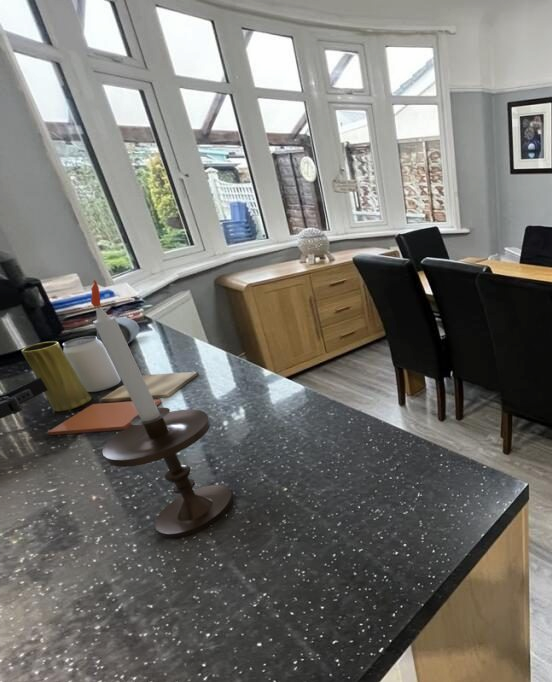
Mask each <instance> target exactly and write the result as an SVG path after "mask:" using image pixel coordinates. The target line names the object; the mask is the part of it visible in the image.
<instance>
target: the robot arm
mask: <svg viewBox="0 0 552 682" xmlns="http://www.w3.org/2000/svg"><path fill="white" fill-rule="evenodd" d="M47 390H48V389H47V388H46V386H45V384H44V383H43V381H42V379H41V378H37V377H36V378H34V379H31V380H29V381H27V382H25V383H23V384H21V385H19V386H16V387H14V388H13V389H10V390H8V391H6V392H4V393H2V394H0V420H1V419H3V418H6V417H9V416H11V415H15V414H18V413H20V412H21V411H23V410H24V408H23V407H22V404H24V403H25V402H28V401H29V400H31V399H34V398H35V397H37V396H39V395H41V394H43V393H44V392H45V391H47Z"/></svg>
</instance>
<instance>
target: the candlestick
mask: <svg viewBox="0 0 552 682" xmlns="http://www.w3.org/2000/svg"><path fill="white" fill-rule="evenodd" d="M90 290H91V296H90V302H91V303H90V304H91V305H92V306H93V307H95V313H96V319H95V320H93V321H92V323H93V325H94V327H95V330H96V332H97V331H98V333H99V335H100V337H101V339H102V341H103V343H104V344H103V345H104V347H105V349H106V351H107V353H108V355H109V357H110V359H111V361H112V363H113V365H114V367H115V369H116V371H117V373H118V375H119V377H120V379H121V382H122V383H123V385H124V386H125V388H126V390H127V392H128V394H129V396H130V398H131V400H130V401H132V402H133V404H134V406H135V408H136V410H137V412H138V414H139V415H137V416H135V417H134V418H133V419H132V420H131V421H130V423H131V424H132V425H131V426H129V427H128V428H126V429H124V430H120V431H119V432H118V433H117V434H115V435H114V436H112V437H111V438H110V439H109V440H108V441H107V442H106V443H105V444H104V446H103V447H102V451H101V452H102V454H103V457H104V459H105V460H106V462H107V464H109V465H111V466H114V467H119V468H128V467H136V466H141V465H146V464H151V463H154V462H157V461H160V460H163V461H164V462H165V464H166V467H167V468H168V470H167V472H165V474H164V479H165V480H166V481H167V482H170V483H172V484H174V486H173V488H172V490H173V492H174V494H180V496H178V497H177V498H175V499H174V500H172V501H171V502H170V503H169V504H167V505H166V506H165V507H164V508H163V509H162V510H161V511H160V512H159V514H158V515H157V517H156V519H155V521H154V527H155V529H156V531H157V533H158V535H159V536H161V537H162V538H164V539H171V540H172V539H181V538H185V537H188V536H192V535H195V534H197V533H199V532H202V531H203V530H206V529H207V528H209V527H210V526H213V524H215V523H216V522H217V521H219V520H220V519H222V517H223V516H224V515H226V513H227V512H228V511H229V509H230V508H231V507H232V504H233V502H234V497H233V494H232V490H231V489H230V488H229V487H227V486H225V485H221V484H212V485H211V484H210V485H206V486H202V487H198V488H195V489H193V488H194V486H195V485H196V481H195V480H194V479H193V478H189V476H190V474H191V467H190V466H189V465H187V464H181V461H180V460H179V458H178V455H177V454H178V453H179V452H181V451H184V450H185V449H187V448H189V447H191V446H192V445H194V444H195V443H197V442H198V441H199V440H201V439H202V438H203V437H204V436H205V435H206V433H207V432H208V431H209V430H210V429H211V420H210V417H209V415H208V414H207V413H206V412H205V411H203V410H200V409H188V408H187V409H179V410H172V411H171V410H170V409H171V408H168V407H158V405H157V406H156V404H155V402H154V400H155V399H154V398H152V396H151V394H150V391H149V389H148V387H147V385H146V383H145V381H144V379H143V377H142V372H141V370H140V368H139V366H138V364H137V362H136V359H135V358H134V355H133V353H132V351H131V349H130V347H129V344H127V342H126V340H125V338H124V336H123V334H122V332H121V330H120V327H119V325H118V323H117V321H116V319H115V318H116V317H115V316H109V314H108V313H107V312H106V311H104V309H103V308H102V307H101V305H102V303H101V294H100V288H99V286H98V282H97V280H96V279H93V285H92V287H91V289H90Z"/></svg>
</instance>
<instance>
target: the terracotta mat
mask: <svg viewBox="0 0 552 682" xmlns="http://www.w3.org/2000/svg"><path fill="white" fill-rule="evenodd" d="M153 400H154V402H155V404H156V406H157V407H158V406H159V405H160V404H161V403H162V400H161V398H156V399H153ZM137 415H139V414H138V412H137V410H136V408H135V406H134V404H133V402H132V400H129V401H115V402H102V403H92V404H91V405H89V406H87V407H85V408H84V409H82V410H81V411H79V412H77V413H76V414H74V415H73V416H71V417H69V418H68V419H65V420H64V421H63V422H61V423H60V424H58V425H57V426H55V427H53V428H52V429H50V430H48V431H47V434H48V435H49V436H58V435H60V436H61V435H70V434H71V435H72V434H84V433H85V434H86V433H97V432H110V431H111V432H112V431H123V430H124V429H126V428H128V427H130V426H132V424H131V423H130V421H131V420H132V419H133V418H134V417H135V416H137Z"/></svg>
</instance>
